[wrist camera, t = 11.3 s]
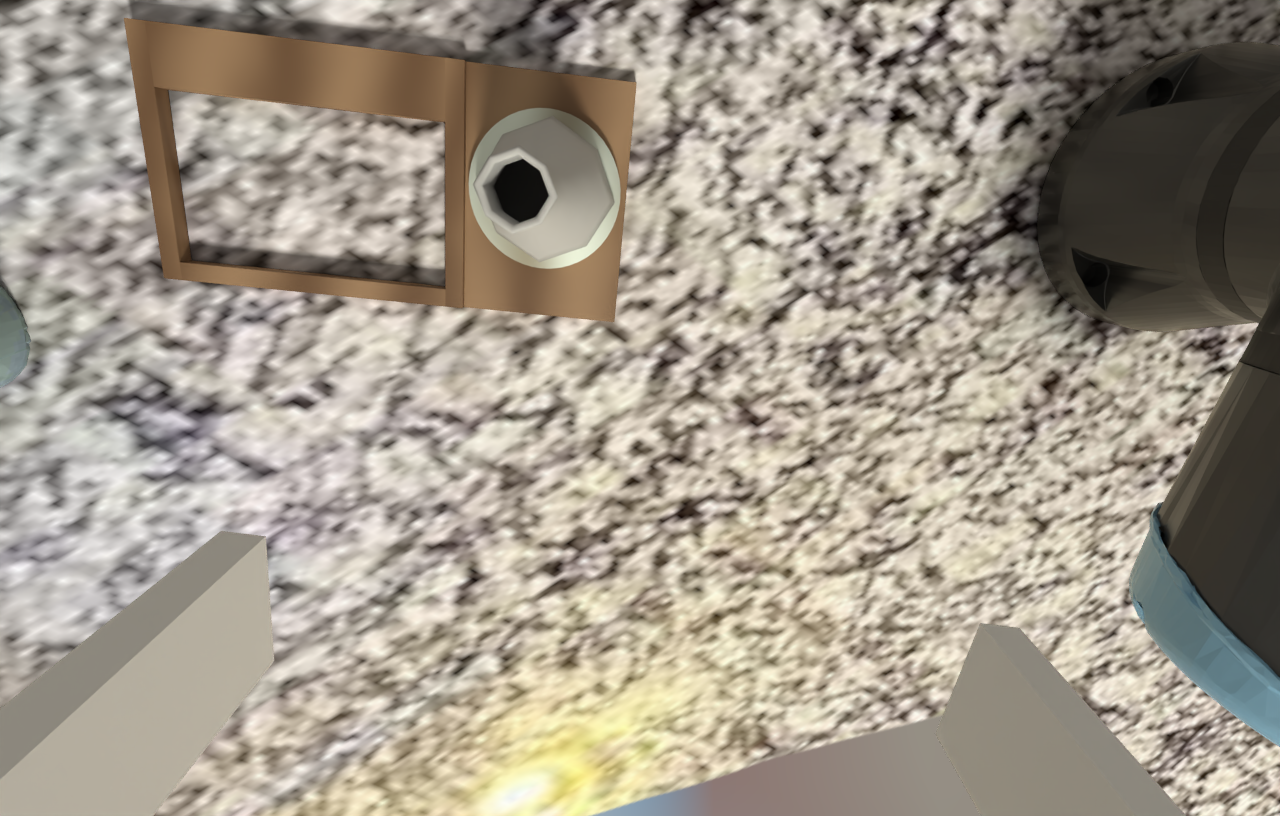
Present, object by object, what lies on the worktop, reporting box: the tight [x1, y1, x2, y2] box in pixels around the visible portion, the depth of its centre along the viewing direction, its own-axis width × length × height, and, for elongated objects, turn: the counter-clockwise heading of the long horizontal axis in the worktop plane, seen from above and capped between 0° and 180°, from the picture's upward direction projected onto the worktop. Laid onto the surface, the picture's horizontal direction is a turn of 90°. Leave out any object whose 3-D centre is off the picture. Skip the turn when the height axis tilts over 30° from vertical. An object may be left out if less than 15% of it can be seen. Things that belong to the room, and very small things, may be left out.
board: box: [124, 18, 636, 322], centre depth 34 cm, size 26×13×1 cm, turn 84°
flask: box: [473, 116, 615, 262], centre depth 29 cm, size 7×7×10 cm
